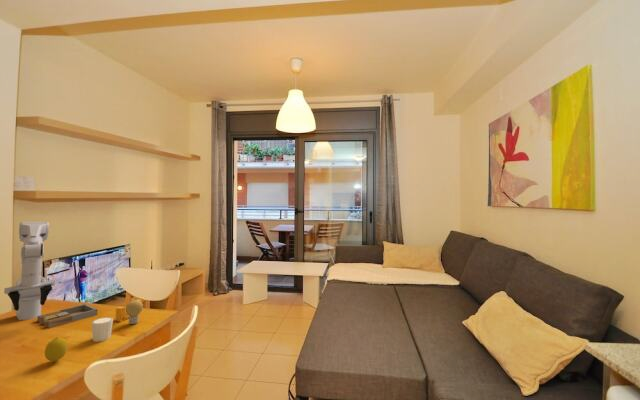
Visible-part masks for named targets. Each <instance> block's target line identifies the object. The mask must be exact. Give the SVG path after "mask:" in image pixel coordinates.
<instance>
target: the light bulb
mask: <svg viewBox="0 0 640 400" xmlns="http://www.w3.org/2000/svg"><path fill="white" fill-rule="evenodd" d="M143 309H144V304H143V301H142V302H141V301H138V300H137V299H135V300H131V301H129V302H128V303H127V304H126V306H125V311H126V312H127V314H128V315H129V317H128V318H129V319H128V324H129V325H136V324H138V323H139V321H140V315H139V314H140V313H141V312H142V311H143Z"/></svg>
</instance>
